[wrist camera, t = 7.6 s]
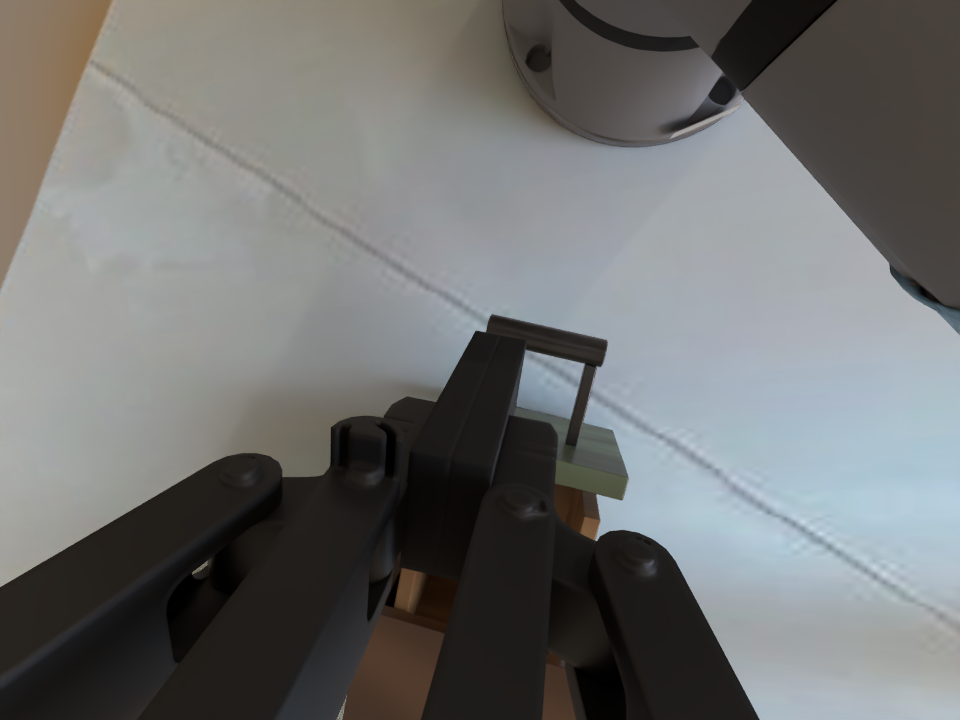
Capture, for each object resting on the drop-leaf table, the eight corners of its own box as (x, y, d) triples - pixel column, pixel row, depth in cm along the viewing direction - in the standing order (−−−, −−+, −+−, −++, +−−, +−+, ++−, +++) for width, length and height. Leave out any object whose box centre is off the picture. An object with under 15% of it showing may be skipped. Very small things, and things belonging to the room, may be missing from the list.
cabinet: (412, 523, 36) (363, 609, 27) (582, 569, 35) (591, 676, 26) (377, 698, 39) (321, 831, 30) (533, 747, 38) (525, 901, 28)
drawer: (465, 299, 32) (437, 308, 25) (638, 338, 31) (662, 359, 24) (409, 574, 36) (370, 653, 28) (562, 617, 35) (563, 712, 27)
